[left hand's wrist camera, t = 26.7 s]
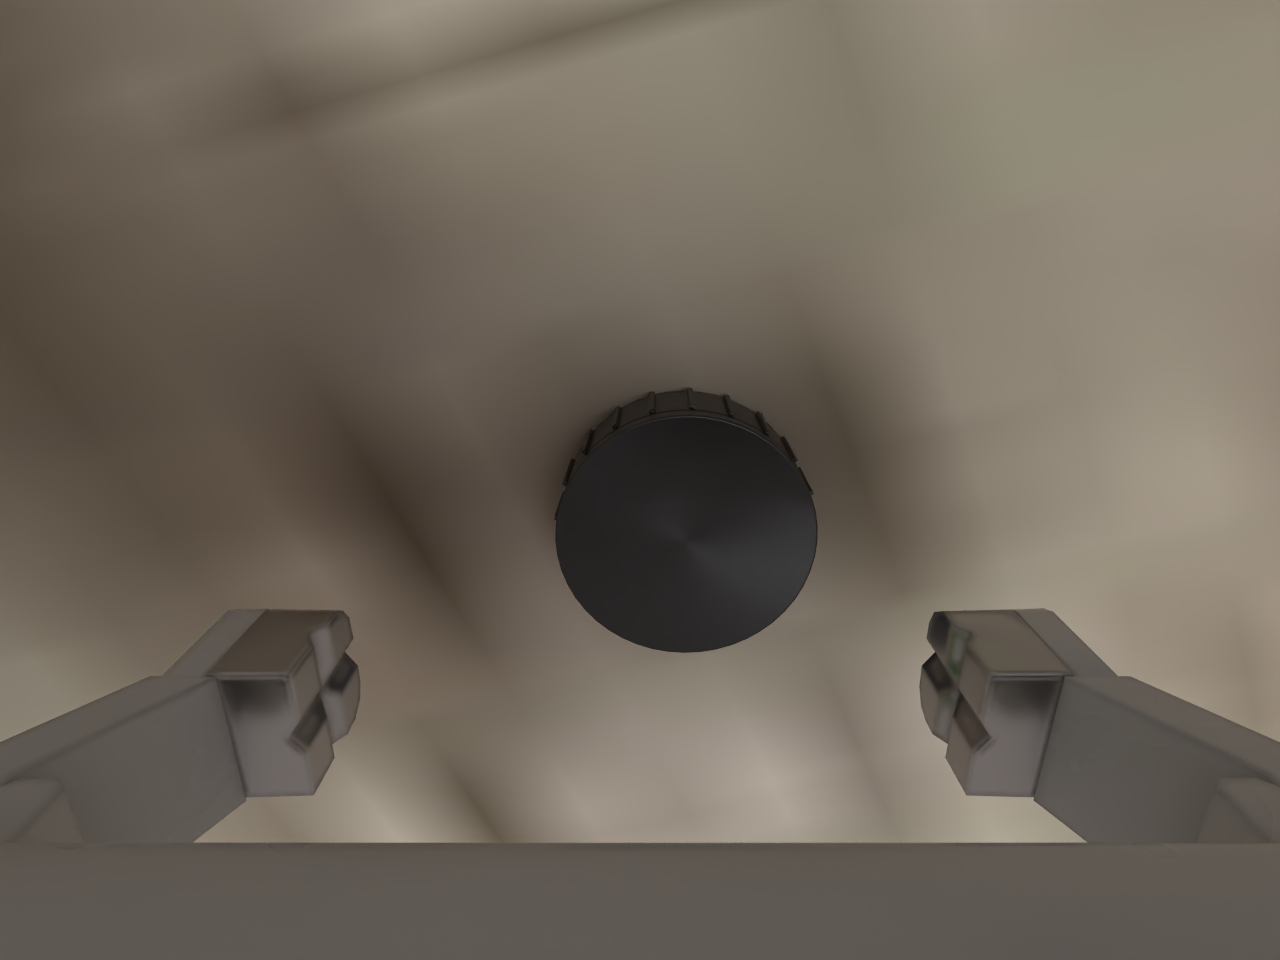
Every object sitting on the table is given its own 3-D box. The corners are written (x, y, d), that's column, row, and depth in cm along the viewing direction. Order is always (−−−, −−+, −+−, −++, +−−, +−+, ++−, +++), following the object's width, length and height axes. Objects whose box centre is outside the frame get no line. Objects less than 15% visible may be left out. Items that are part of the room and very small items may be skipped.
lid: (680, 649, 18) (682, 700, 16) (514, 503, 17) (496, 540, 15) (852, 505, 17) (876, 543, 15) (685, 334, 15) (688, 352, 14)
